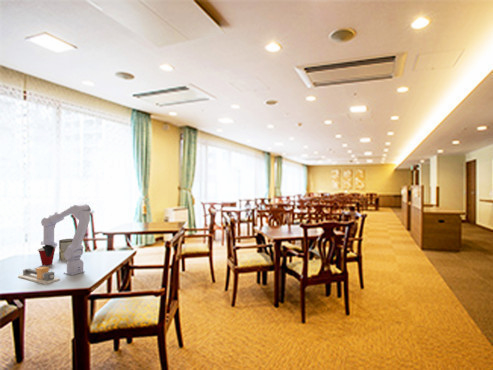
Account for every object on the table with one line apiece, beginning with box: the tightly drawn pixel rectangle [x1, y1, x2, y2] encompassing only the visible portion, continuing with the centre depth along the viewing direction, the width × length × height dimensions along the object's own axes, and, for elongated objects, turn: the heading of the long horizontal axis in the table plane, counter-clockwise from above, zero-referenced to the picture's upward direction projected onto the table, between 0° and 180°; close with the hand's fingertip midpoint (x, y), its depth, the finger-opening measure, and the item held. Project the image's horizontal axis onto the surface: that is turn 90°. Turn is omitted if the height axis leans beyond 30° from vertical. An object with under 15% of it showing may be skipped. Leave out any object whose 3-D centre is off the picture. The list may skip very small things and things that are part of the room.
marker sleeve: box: [35, 266, 50, 279], centre depth 163 cm, size 5×4×6 cm
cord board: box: [17, 268, 61, 285], centre depth 165 cm, size 28×8×5 cm, turn 64°
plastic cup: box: [37, 246, 57, 267], centre depth 195 cm, size 11×11×12 cm
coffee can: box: [58, 238, 73, 261], centre depth 212 cm, size 10×10×14 cm
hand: (48, 256), depth 180 cm, fingers closed
